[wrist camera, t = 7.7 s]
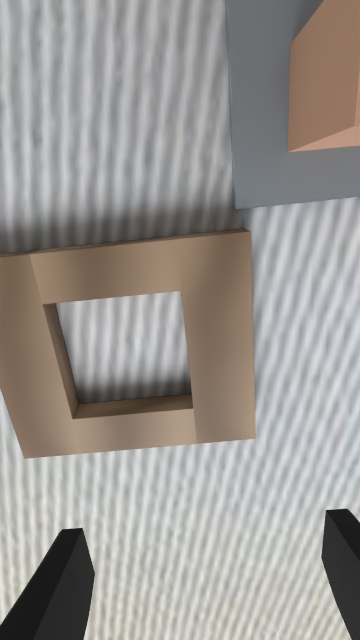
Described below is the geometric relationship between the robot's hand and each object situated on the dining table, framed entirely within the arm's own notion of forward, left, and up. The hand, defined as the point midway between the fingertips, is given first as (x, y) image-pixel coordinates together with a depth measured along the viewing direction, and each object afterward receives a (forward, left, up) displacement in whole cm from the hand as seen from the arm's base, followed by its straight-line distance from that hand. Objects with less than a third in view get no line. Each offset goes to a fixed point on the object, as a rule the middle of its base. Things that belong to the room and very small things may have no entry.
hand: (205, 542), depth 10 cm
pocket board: (+4, -2, -10) cm, 11 cm away
